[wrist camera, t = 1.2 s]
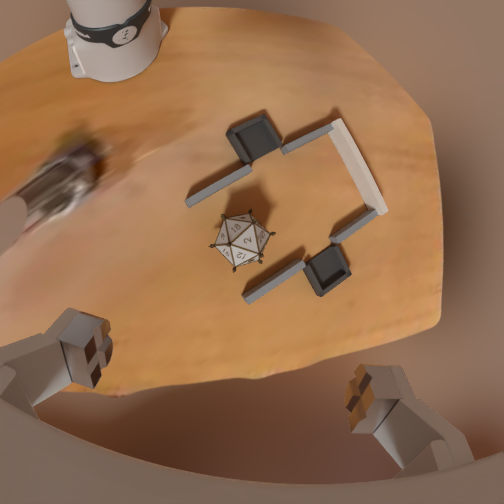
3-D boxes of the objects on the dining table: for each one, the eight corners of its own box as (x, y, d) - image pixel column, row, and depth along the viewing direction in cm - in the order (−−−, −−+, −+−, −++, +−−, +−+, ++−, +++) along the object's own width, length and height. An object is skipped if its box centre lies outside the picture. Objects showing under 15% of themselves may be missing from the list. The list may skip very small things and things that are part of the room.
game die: (231, 226, 52) (254, 186, 44) (266, 263, 51) (296, 227, 43) (192, 251, 46) (211, 209, 39) (230, 293, 45) (257, 257, 37)
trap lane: (164, 167, 45) (164, 161, 41) (312, 95, 50) (321, 87, 46) (264, 331, 50) (271, 339, 47) (388, 240, 56) (401, 241, 52)
